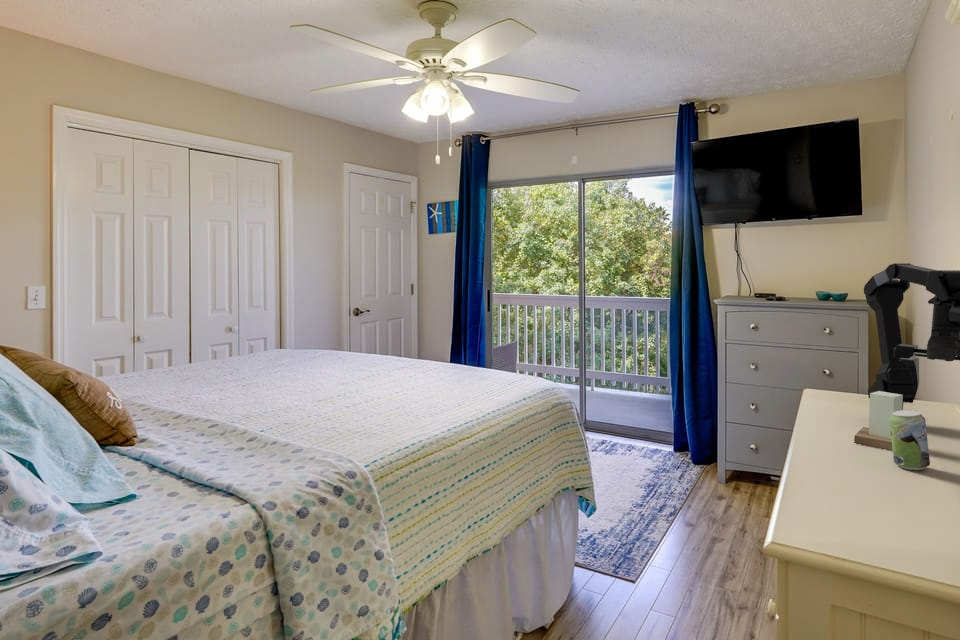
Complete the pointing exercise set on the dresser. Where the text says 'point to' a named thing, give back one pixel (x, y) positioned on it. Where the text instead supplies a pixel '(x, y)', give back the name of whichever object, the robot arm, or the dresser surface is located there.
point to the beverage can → (909, 439)
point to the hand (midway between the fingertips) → (941, 391)
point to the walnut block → (872, 440)
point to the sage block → (883, 412)
